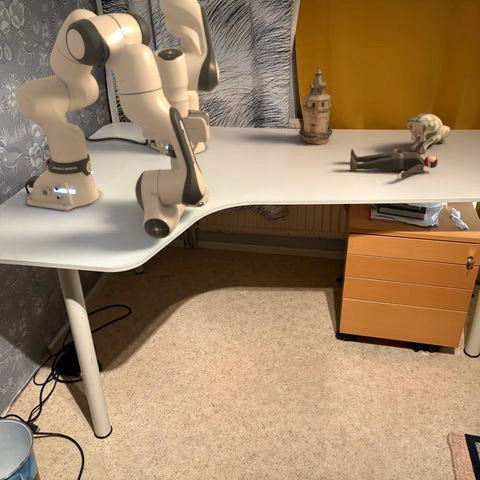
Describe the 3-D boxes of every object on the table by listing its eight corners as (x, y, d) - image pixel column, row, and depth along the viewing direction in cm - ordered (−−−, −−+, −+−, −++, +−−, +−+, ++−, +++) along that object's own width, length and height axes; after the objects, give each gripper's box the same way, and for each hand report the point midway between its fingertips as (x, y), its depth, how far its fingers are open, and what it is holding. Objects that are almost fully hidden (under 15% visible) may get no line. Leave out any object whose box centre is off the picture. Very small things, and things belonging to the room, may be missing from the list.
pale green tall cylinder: (191, 203, 169) (187, 149, 161) (177, 207, 168) (172, 152, 159) (186, 198, 173) (182, 144, 164) (171, 201, 171) (167, 147, 162)
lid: (187, 150, 165) (186, 143, 164) (188, 157, 160) (187, 149, 159) (168, 151, 165) (167, 144, 163) (168, 158, 160) (168, 150, 158)
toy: (351, 141, 203) (434, 141, 197) (350, 156, 206) (432, 157, 200) (349, 166, 181) (443, 167, 175) (349, 183, 184) (441, 185, 178)
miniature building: (320, 132, 228) (325, 59, 214) (338, 142, 217) (344, 66, 203) (293, 137, 224) (296, 63, 209) (310, 147, 213) (314, 69, 198)
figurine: (436, 165, 204) (461, 137, 213) (424, 121, 195) (451, 94, 204) (414, 164, 211) (439, 137, 220) (401, 122, 202) (428, 96, 211)
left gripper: (205, 195, 154) (213, 176, 166) (135, 192, 156) (148, 174, 168) (206, 215, 157) (213, 195, 169) (138, 212, 159) (150, 192, 171)
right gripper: (211, 107, 156) (213, 152, 163) (145, 104, 160) (149, 148, 167) (206, 113, 151) (208, 160, 158) (137, 110, 155) (142, 155, 162)
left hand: (180, 184), depth 168 cm, fingers closed on pale green tall cylinder, 5 cm apart
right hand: (177, 154), depth 162 cm, fingers open, 8 cm apart
